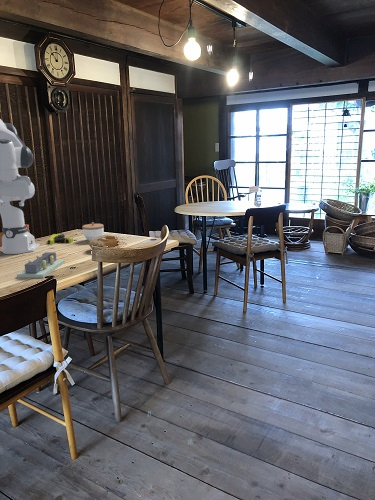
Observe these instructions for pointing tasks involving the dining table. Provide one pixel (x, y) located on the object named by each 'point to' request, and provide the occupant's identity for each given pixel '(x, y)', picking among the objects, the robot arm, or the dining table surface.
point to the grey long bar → (39, 263)
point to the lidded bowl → (93, 230)
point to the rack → (44, 270)
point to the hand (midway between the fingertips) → (12, 206)
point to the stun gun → (59, 239)
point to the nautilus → (105, 241)
